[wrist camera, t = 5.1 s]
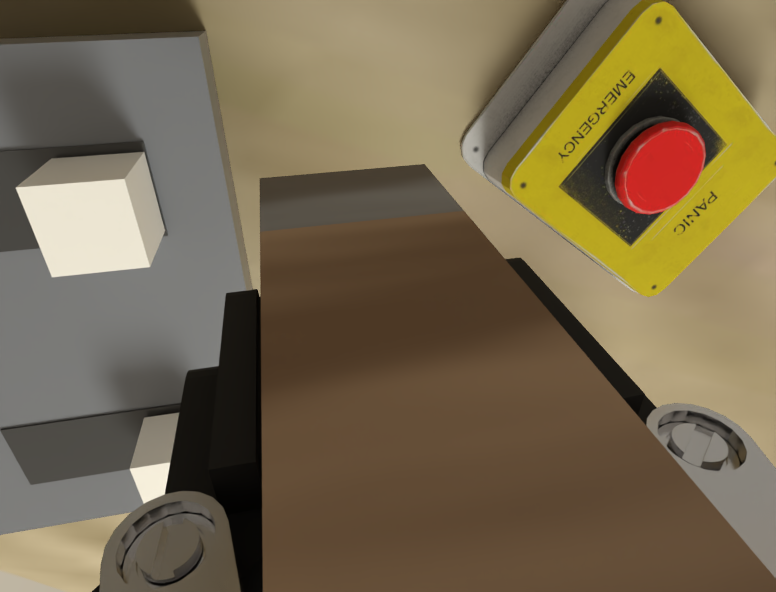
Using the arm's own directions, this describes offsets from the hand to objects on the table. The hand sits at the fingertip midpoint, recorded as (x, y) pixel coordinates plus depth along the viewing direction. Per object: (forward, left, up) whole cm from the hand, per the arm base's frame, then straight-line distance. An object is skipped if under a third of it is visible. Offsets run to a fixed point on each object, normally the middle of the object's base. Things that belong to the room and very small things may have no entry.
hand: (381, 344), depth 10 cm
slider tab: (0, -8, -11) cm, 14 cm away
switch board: (+6, -12, -14) cm, 20 cm away
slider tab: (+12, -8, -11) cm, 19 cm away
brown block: (0, 0, -4) cm, 4 cm away
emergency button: (+2, +15, -15) cm, 21 cm away
